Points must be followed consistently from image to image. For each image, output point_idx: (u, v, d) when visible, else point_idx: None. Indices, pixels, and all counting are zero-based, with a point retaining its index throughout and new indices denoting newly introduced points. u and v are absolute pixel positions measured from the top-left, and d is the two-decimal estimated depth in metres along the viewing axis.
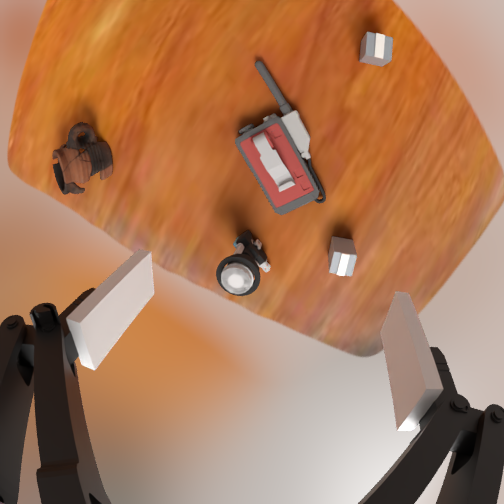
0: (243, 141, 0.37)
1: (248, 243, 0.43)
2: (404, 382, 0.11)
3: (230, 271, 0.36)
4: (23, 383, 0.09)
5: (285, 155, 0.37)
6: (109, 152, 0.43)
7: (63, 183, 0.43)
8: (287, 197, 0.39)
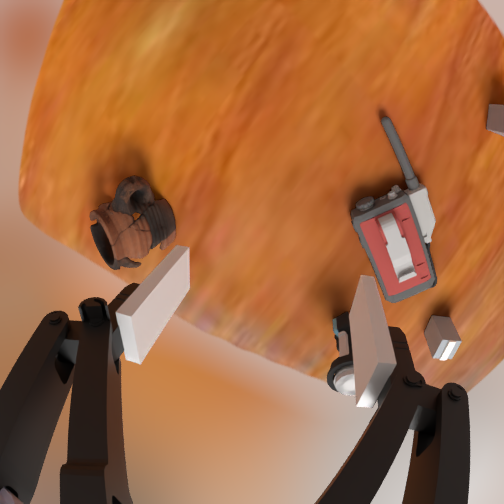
0: (365, 222, 0.30)
1: None
2: (363, 359, 0.12)
3: (348, 376, 0.29)
4: (59, 381, 0.10)
5: (410, 241, 0.29)
6: (171, 214, 0.35)
7: (106, 251, 0.36)
8: (403, 286, 0.32)
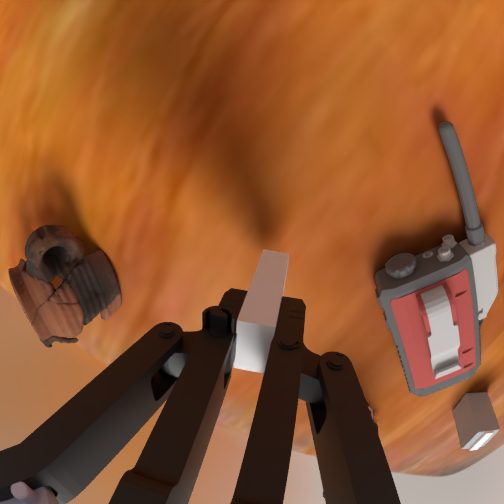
0: (399, 299, 0.17)
1: None
2: None
3: None
4: (151, 397, 0.10)
5: (460, 323, 0.17)
6: (111, 273, 0.23)
7: None
8: (438, 378, 0.19)
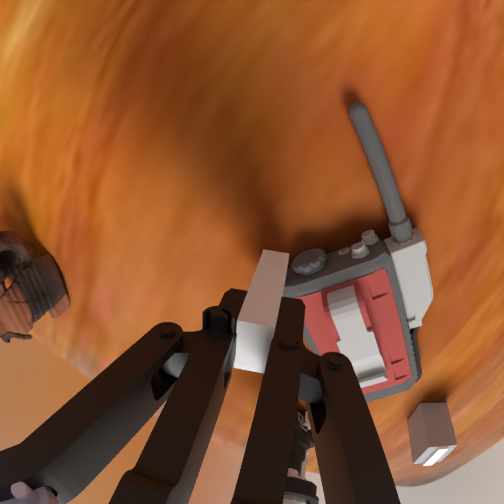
0: (303, 297, 0.17)
1: (294, 430, 0.23)
2: None
3: None
4: (151, 397, 0.10)
5: (383, 330, 0.17)
6: (57, 275, 0.23)
7: None
8: (365, 388, 0.19)
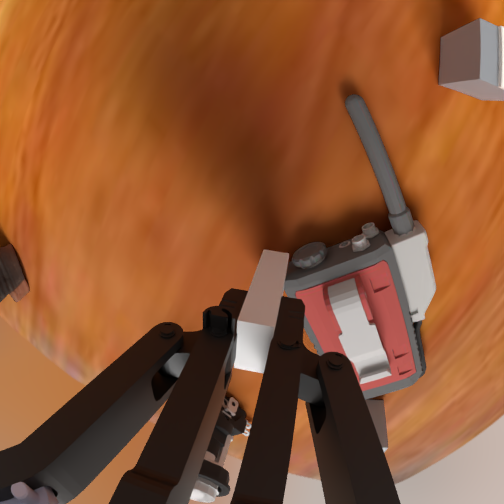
0: (304, 291, 0.17)
1: None
2: None
3: None
4: (151, 398, 0.10)
5: (386, 324, 0.17)
6: (16, 263, 0.24)
7: None
8: (368, 383, 0.19)
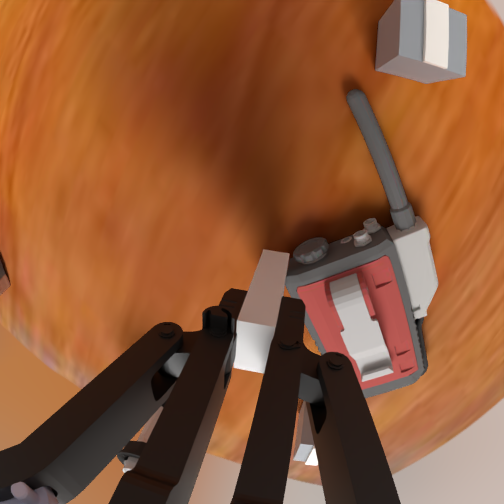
0: (305, 286, 0.17)
1: None
2: None
3: None
4: (151, 397, 0.10)
5: (388, 320, 0.17)
6: None
7: None
8: (370, 381, 0.19)
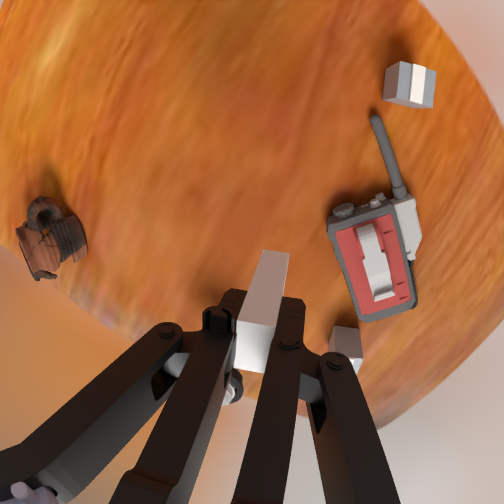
0: (341, 231, 0.27)
1: None
2: None
3: None
4: (151, 397, 0.10)
5: (390, 257, 0.27)
6: (80, 229, 0.34)
7: None
8: (379, 305, 0.29)
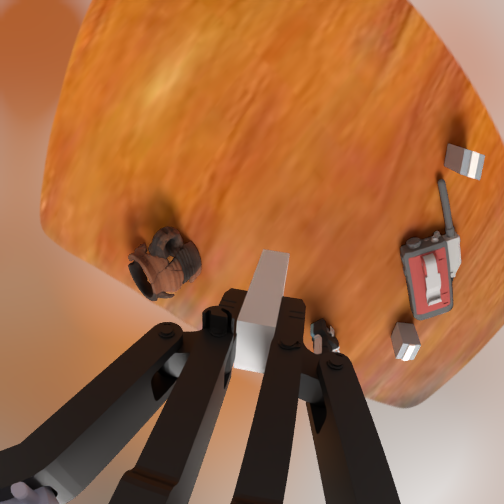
0: (412, 257, 0.36)
1: (325, 334, 0.44)
2: None
3: None
4: (151, 397, 0.10)
5: (441, 275, 0.36)
6: (197, 254, 0.44)
7: (143, 284, 0.45)
8: (429, 308, 0.39)
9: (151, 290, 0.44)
